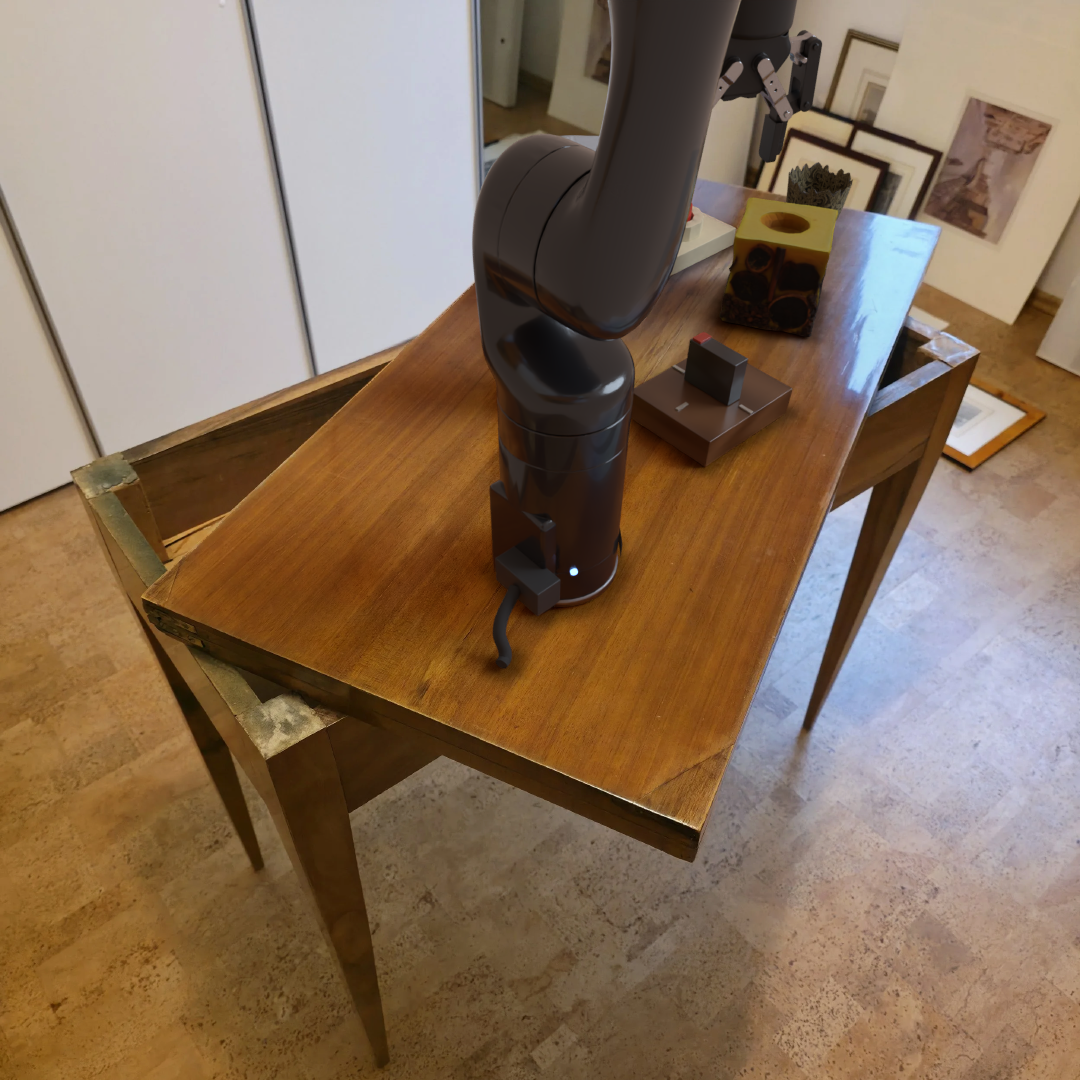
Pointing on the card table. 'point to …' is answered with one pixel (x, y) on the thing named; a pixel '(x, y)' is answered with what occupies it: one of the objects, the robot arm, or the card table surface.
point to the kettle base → (702, 239)
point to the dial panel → (707, 411)
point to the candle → (778, 266)
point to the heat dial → (715, 368)
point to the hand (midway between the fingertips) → (724, 164)
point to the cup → (818, 187)
